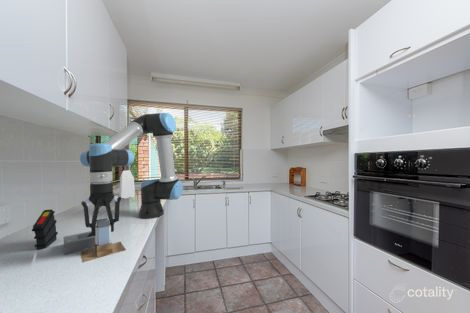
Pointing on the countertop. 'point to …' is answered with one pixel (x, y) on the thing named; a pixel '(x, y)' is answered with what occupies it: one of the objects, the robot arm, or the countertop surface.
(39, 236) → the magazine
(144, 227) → the countertop surface
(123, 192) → the milk
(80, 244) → the port box
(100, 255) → the holster
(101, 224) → the plug
